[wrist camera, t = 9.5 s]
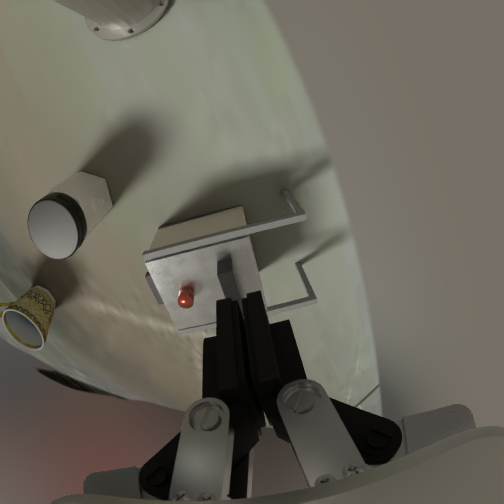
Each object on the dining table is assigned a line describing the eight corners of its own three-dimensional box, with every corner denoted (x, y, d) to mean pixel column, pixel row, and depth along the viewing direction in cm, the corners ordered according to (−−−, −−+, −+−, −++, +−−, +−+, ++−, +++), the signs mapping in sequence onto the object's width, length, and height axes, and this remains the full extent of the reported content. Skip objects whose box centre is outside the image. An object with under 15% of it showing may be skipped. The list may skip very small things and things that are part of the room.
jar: (118, 219, 41) (90, 258, 31) (76, 229, 41) (42, 267, 30) (103, 163, 37) (65, 187, 26) (60, 177, 36) (18, 204, 26)
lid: (146, 259, 35) (140, 275, 31) (248, 233, 34) (251, 248, 31) (178, 324, 40) (175, 343, 37) (266, 305, 40) (270, 323, 37)
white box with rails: (145, 226, 42) (128, 259, 33) (287, 189, 42) (305, 213, 33) (175, 295, 49) (168, 336, 40) (300, 266, 48) (317, 303, 40)
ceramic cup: (64, 290, 46) (43, 324, 37) (61, 324, 50) (44, 358, 41) (13, 264, 42) (-12, 293, 33) (14, 300, 46) (-6, 330, 37)
